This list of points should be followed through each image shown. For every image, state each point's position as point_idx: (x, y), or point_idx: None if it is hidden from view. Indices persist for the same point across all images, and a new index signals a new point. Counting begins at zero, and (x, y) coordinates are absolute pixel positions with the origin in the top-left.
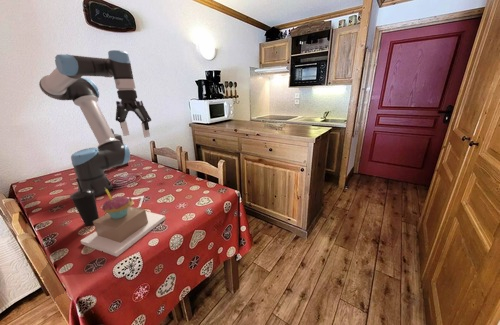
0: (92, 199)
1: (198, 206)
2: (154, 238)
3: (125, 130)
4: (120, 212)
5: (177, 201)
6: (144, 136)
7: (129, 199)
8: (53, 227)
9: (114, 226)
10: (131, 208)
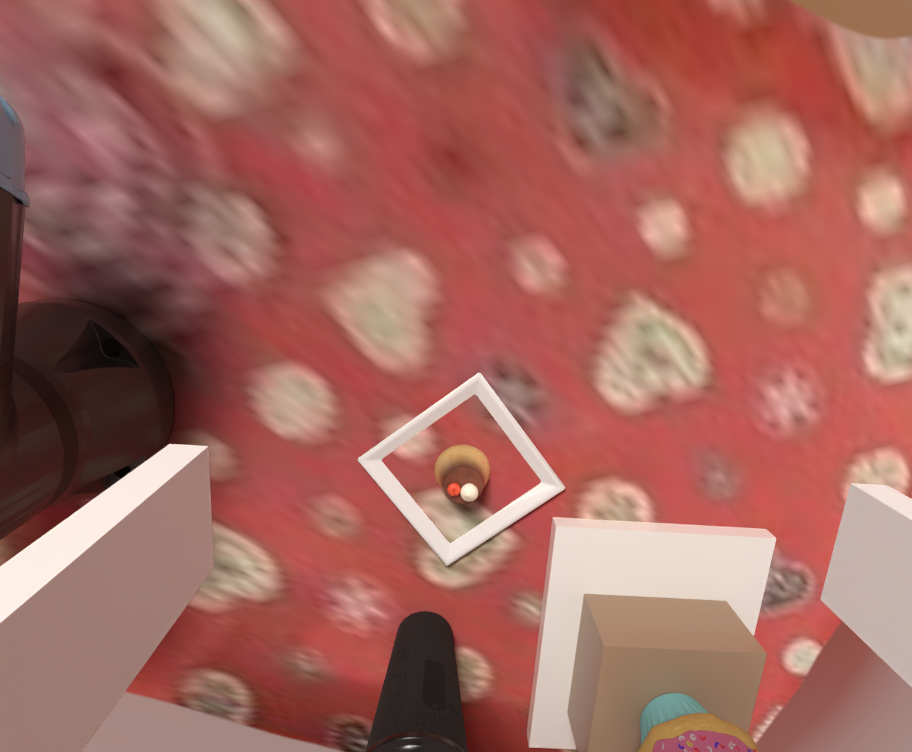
0: (465, 735)
1: (893, 387)
2: (794, 642)
3: (144, 600)
4: None
5: (737, 369)
6: (848, 615)
7: (474, 483)
8: (288, 700)
9: None
10: (682, 661)
